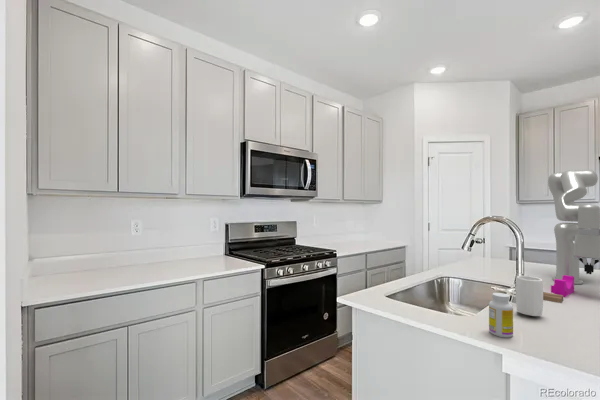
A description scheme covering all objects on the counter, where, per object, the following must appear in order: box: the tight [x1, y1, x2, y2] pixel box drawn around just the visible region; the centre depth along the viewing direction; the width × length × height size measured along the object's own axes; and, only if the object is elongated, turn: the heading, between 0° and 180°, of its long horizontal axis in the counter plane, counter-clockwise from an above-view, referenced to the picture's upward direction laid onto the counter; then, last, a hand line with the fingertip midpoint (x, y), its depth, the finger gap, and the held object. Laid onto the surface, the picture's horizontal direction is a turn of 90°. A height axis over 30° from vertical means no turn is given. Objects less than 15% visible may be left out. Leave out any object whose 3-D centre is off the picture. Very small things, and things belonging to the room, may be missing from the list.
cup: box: [515, 275, 544, 317], centre depth 120 cm, size 8×8×14 cm
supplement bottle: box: [488, 292, 514, 339], centre depth 104 cm, size 7×7×13 cm
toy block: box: [550, 275, 575, 298], centre depth 150 cm, size 15×6×8 cm, turn 127°
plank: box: [543, 291, 564, 304], centre depth 144 cm, size 7×18×2 cm, turn 44°
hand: (588, 273), depth 142 cm, fingers closed
